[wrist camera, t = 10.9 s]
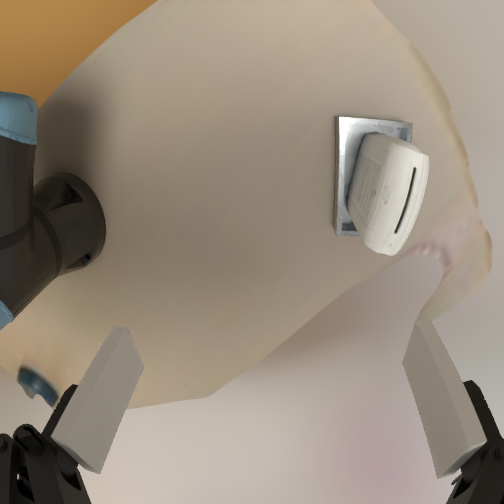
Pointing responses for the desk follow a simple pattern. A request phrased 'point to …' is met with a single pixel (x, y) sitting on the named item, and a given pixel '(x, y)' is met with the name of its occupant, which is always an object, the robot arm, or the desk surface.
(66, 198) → the robot arm
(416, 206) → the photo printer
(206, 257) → the desk surface
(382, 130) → the grey rectangular tray
